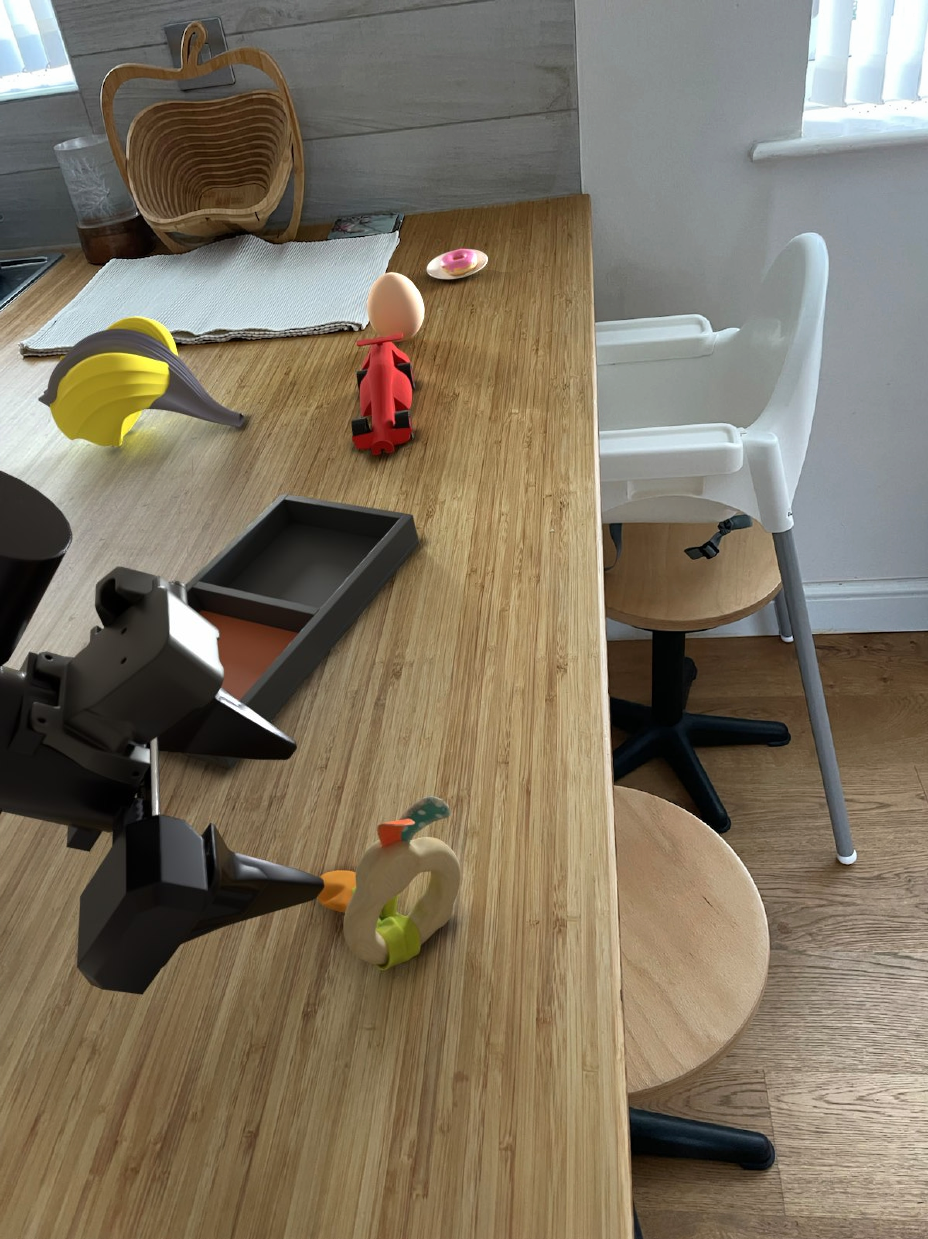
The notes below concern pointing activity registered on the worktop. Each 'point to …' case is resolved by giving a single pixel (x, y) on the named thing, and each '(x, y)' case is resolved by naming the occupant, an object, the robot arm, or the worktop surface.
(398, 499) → the worktop surface
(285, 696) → the tray
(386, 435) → the toy car
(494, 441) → the worktop surface
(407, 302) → the egg
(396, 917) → the rattle
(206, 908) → the robot arm
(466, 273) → the donut
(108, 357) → the yellow grey curved horn
